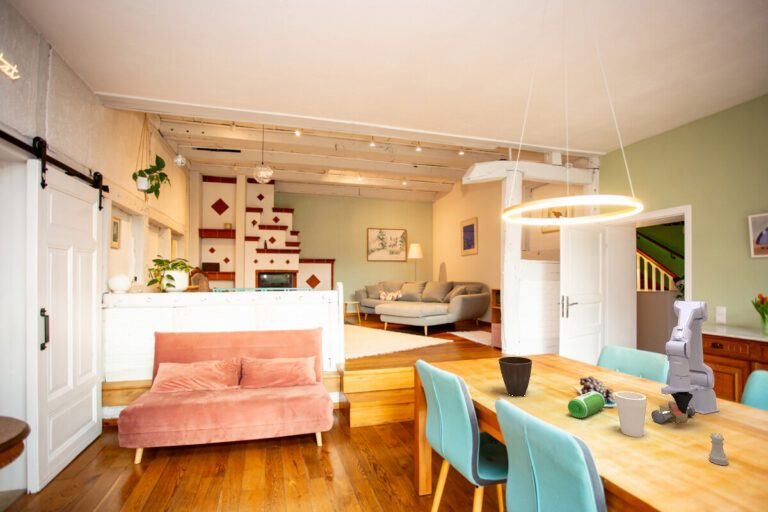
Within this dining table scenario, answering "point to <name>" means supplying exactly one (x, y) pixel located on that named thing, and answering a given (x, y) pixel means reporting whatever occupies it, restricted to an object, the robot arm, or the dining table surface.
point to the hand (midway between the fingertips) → (682, 412)
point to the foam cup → (631, 412)
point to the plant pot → (516, 374)
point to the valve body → (671, 414)
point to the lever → (675, 408)
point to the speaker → (586, 404)
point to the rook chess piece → (717, 450)
